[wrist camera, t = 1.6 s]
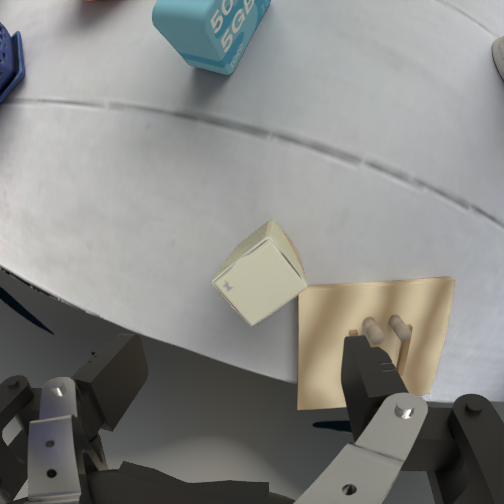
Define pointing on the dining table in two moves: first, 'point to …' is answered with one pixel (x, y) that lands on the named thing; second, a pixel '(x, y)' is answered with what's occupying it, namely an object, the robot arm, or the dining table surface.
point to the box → (261, 274)
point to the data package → (209, 29)
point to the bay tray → (370, 332)
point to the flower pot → (10, 61)
